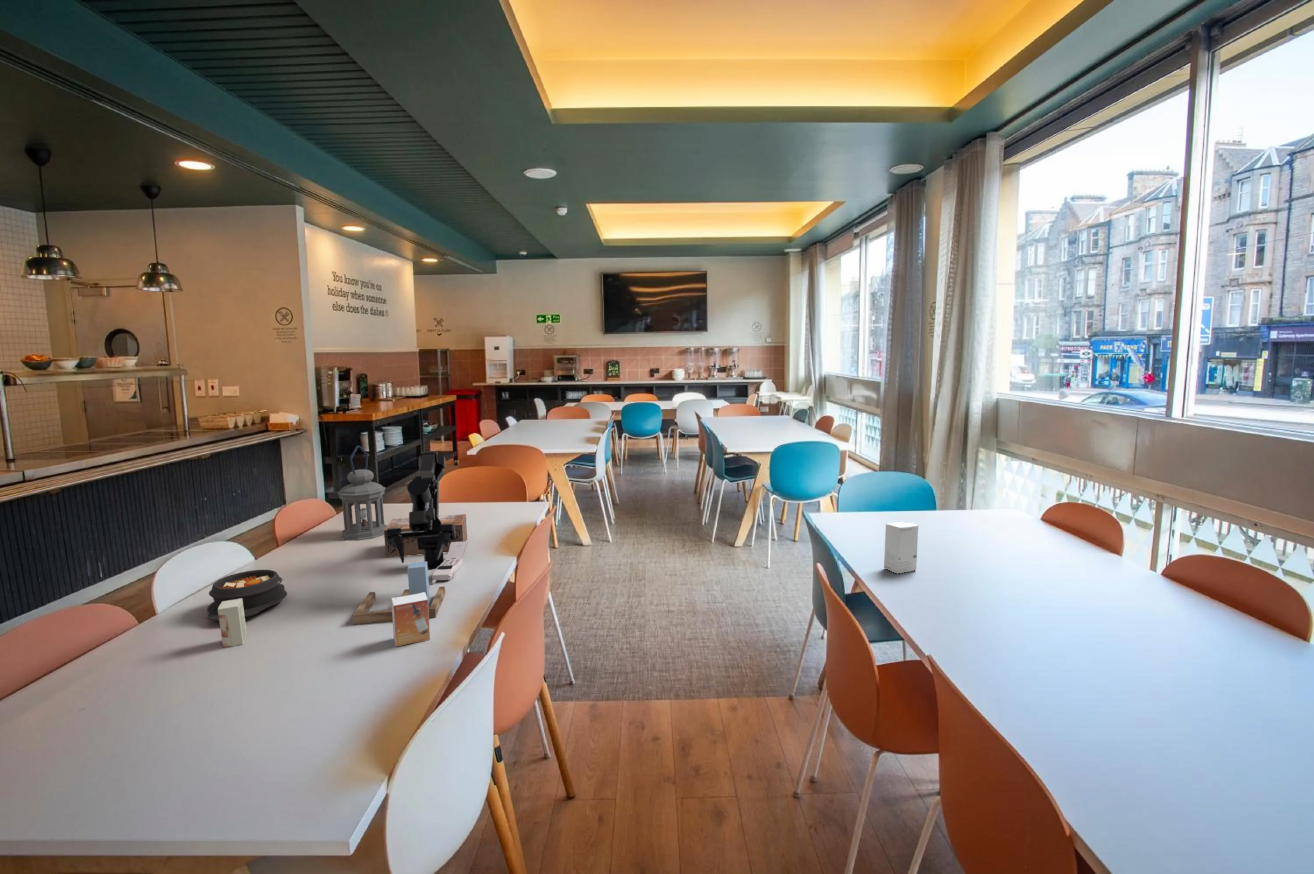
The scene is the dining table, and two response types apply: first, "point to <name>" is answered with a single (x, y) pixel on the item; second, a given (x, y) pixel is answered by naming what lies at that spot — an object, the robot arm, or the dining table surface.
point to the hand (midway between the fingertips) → (419, 560)
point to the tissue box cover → (412, 543)
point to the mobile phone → (451, 562)
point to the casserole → (247, 591)
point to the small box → (410, 619)
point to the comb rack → (386, 615)
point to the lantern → (362, 493)
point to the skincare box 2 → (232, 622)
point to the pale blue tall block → (418, 579)
